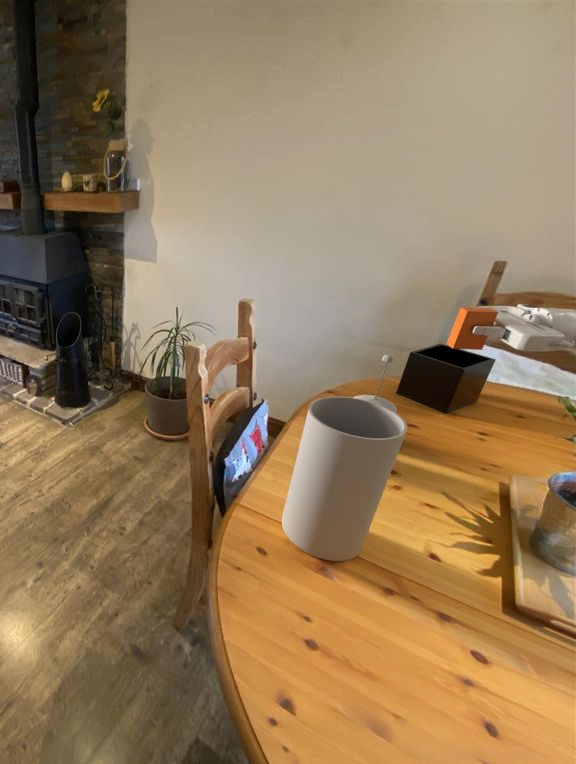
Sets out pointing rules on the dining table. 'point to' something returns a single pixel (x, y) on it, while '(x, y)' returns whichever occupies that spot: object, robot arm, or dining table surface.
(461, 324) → the block
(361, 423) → the cylinder vase
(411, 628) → the dining table surface
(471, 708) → the dining table surface
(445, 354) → the bin
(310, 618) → the dining table surface
